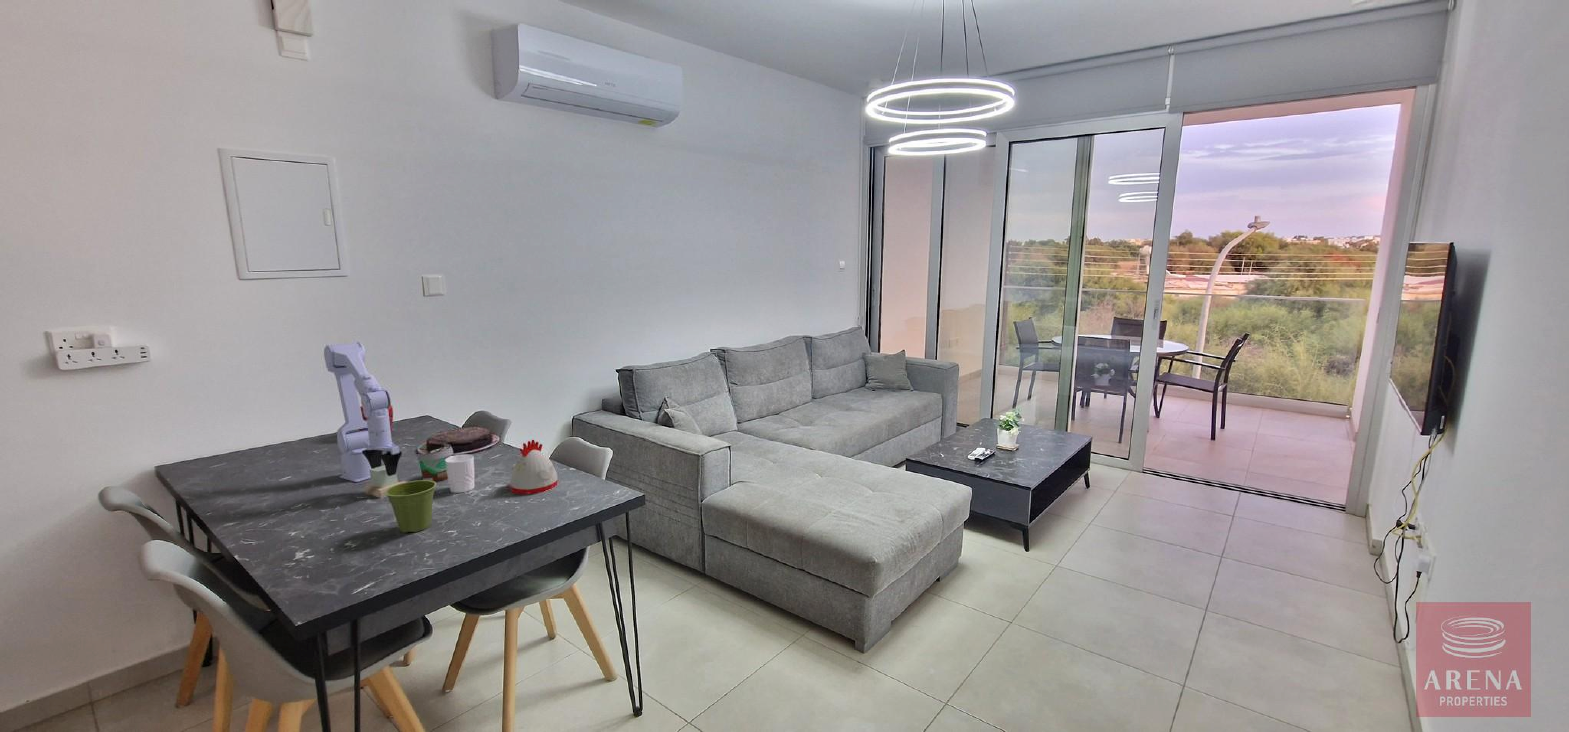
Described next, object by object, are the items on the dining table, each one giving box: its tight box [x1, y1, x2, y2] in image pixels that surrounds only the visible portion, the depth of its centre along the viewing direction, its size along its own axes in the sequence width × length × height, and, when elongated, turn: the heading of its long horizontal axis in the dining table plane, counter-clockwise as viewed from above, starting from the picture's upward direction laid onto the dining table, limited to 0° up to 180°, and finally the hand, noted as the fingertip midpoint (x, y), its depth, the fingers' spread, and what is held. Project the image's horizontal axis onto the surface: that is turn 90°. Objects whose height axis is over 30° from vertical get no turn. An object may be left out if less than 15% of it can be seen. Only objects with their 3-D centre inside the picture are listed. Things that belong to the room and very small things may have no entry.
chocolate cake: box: [417, 426, 500, 456], centre depth 237 cm, size 28×28×7 cm
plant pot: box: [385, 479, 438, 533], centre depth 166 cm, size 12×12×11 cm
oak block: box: [364, 478, 407, 499], centre depth 192 cm, size 8×8×3 cm
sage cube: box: [369, 465, 398, 488], centre depth 191 cm, size 5×5×5 cm
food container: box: [417, 444, 453, 483], centre depth 202 cm, size 12×6×10 cm, turn 168°
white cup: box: [445, 454, 476, 494], centre depth 193 cm, size 8×8×10 cm
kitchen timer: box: [509, 439, 559, 495], centre depth 195 cm, size 14×14×15 cm
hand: (384, 472), depth 191 cm, fingers open, 7 cm apart
